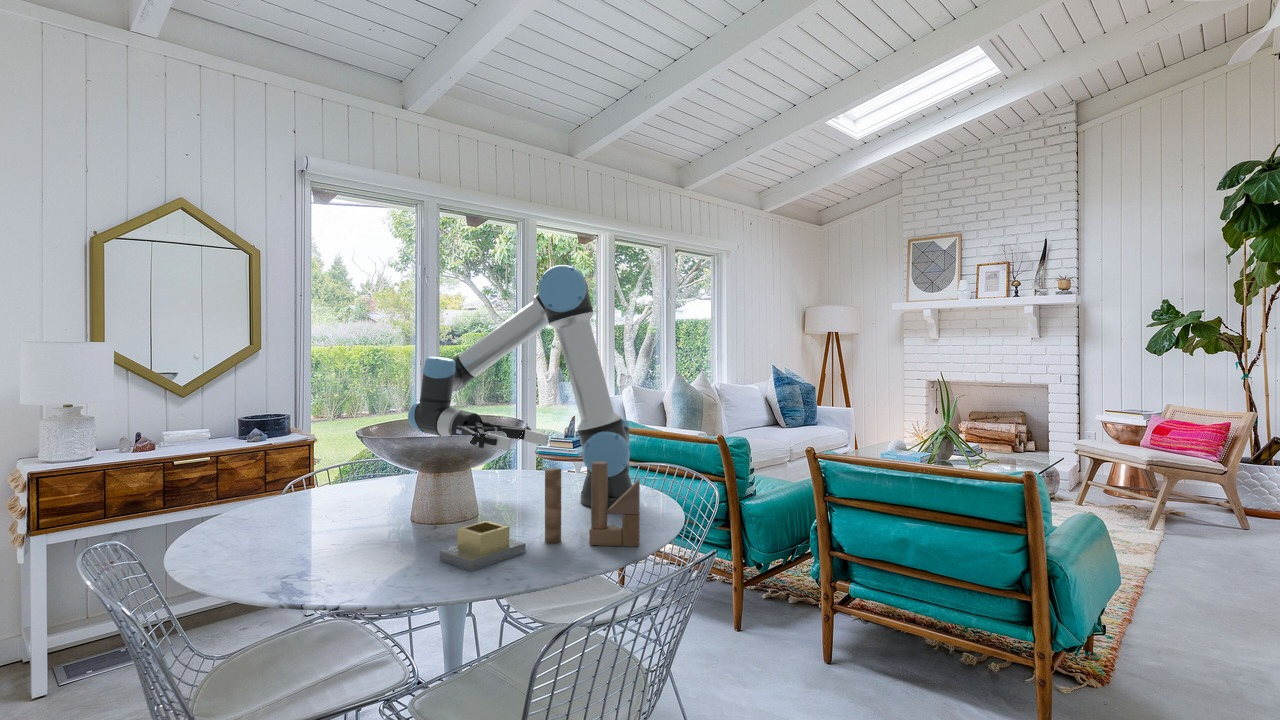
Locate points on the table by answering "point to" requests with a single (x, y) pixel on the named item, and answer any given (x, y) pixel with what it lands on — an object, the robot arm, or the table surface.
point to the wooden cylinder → (553, 505)
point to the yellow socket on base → (482, 546)
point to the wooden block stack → (613, 511)
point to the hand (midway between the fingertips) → (529, 442)
